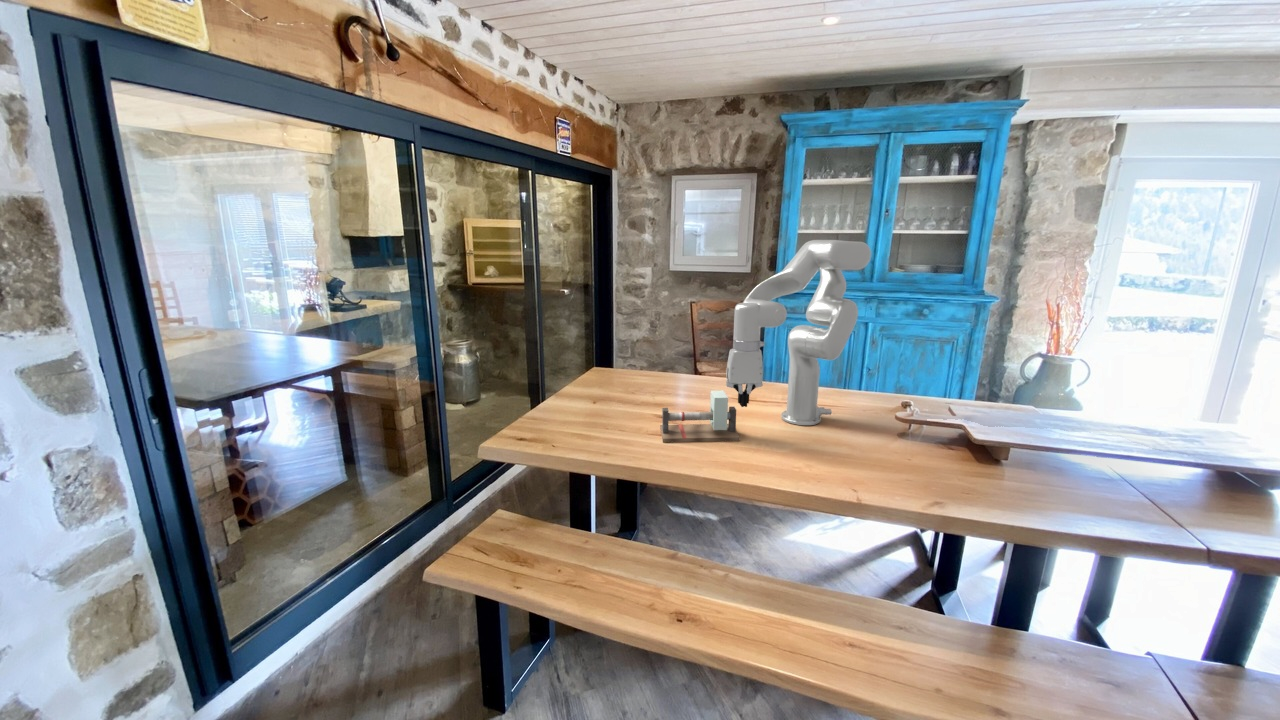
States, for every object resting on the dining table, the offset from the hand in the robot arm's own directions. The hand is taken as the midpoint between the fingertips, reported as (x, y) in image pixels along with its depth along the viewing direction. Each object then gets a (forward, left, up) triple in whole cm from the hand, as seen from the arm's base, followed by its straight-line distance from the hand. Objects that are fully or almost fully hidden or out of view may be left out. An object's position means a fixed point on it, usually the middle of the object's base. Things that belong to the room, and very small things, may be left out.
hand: (743, 405), depth 150 cm
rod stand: (+13, -3, -10) cm, 17 cm away
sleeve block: (+7, -3, -7) cm, 10 cm away
